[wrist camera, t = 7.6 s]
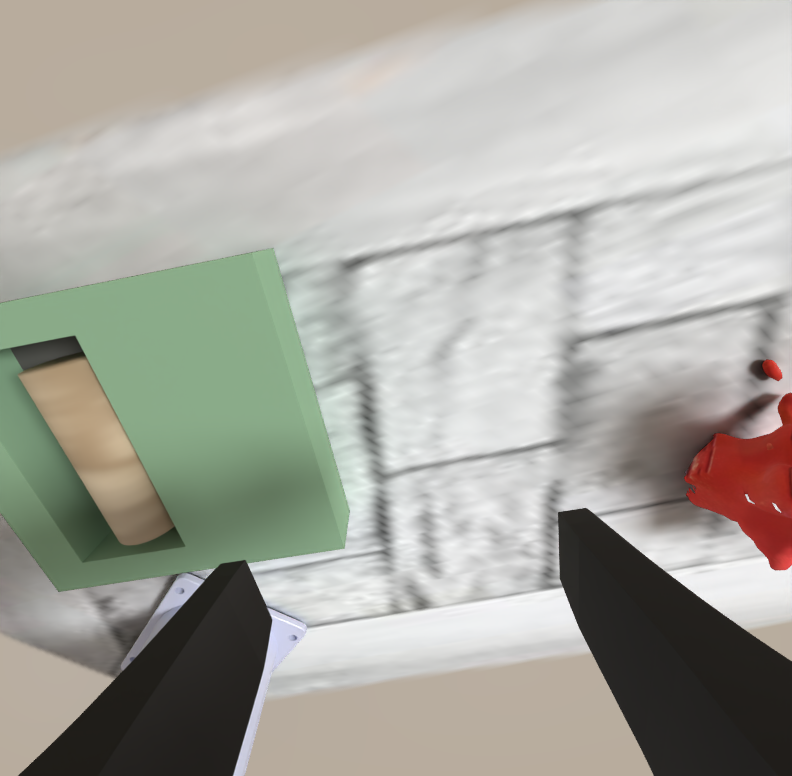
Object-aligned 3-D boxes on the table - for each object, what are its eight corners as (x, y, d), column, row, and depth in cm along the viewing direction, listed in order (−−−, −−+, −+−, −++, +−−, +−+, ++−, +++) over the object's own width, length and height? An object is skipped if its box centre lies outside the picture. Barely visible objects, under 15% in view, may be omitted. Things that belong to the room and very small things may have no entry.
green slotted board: (273, 248, 15) (252, 253, 13) (349, 511, 20) (344, 548, 18) (-59, 314, 16) (-134, 330, 14) (94, 551, 21) (58, 591, 19)
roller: (111, 527, 18) (177, 491, 20) (126, 556, 16) (198, 513, 18) (16, 370, 15) (104, 344, 17) (19, 381, 13) (118, 350, 15)
